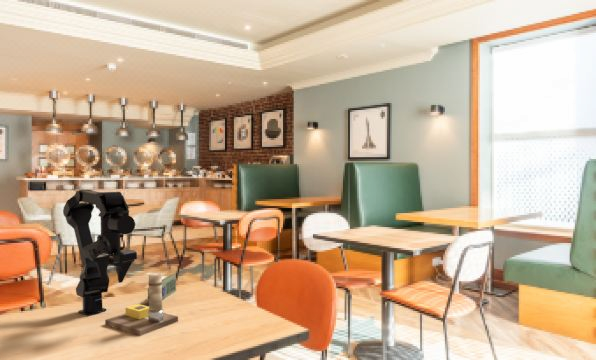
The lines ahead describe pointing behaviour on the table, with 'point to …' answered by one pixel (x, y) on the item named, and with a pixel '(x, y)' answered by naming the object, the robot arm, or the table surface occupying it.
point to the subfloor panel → (139, 323)
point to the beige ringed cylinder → (155, 298)
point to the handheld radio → (166, 287)
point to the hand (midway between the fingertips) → (111, 280)
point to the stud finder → (137, 311)
